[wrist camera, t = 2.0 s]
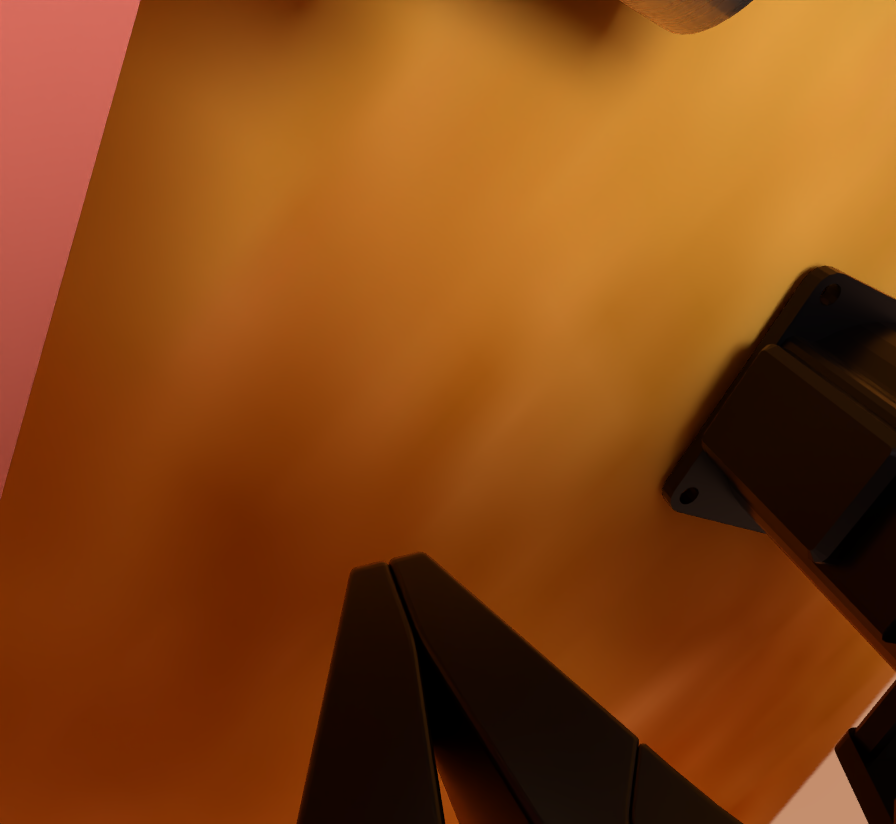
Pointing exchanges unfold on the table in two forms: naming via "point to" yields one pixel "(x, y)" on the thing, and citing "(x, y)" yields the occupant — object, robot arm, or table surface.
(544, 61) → the table surface
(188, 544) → the table surface
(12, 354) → the lever
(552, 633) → the table surface
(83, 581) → the table surface
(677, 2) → the valve
